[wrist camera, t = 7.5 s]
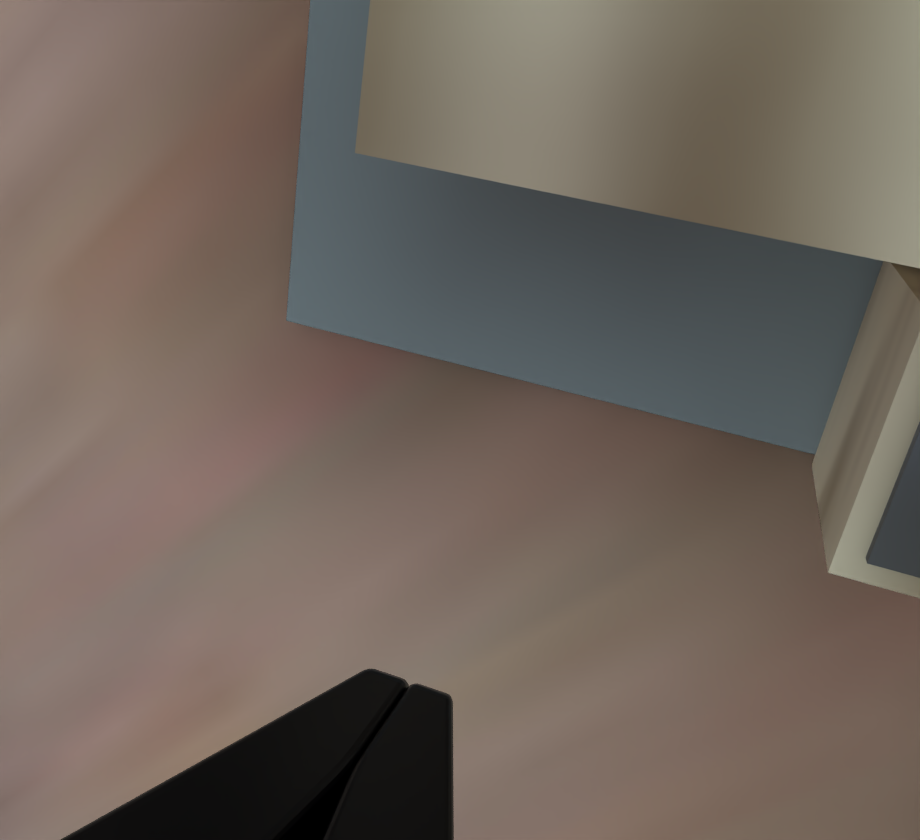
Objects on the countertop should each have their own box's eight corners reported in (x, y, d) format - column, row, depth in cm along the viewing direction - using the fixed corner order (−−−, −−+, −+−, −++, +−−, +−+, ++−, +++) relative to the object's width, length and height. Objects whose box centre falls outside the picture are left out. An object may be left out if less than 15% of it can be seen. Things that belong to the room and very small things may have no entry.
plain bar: (1172, -14, 14) (1315, -44, 11) (1054, 260, 16) (1141, 313, 12) (464, -108, 17) (386, -157, 13) (431, 138, 18) (354, 152, 15)
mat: (1486, -370, 12) (1509, -385, 12) (1057, 509, 18) (1063, 517, 17) (353, -428, 16) (343, -440, 15) (294, 316, 21) (286, 320, 21)
